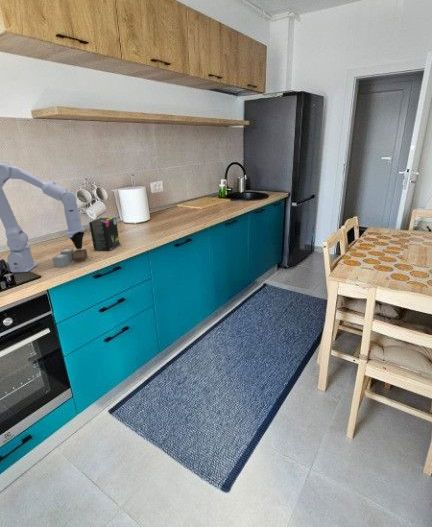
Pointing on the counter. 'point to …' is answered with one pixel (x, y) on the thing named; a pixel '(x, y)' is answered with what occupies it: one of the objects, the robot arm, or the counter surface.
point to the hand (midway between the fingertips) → (79, 248)
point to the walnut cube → (80, 255)
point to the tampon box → (104, 234)
